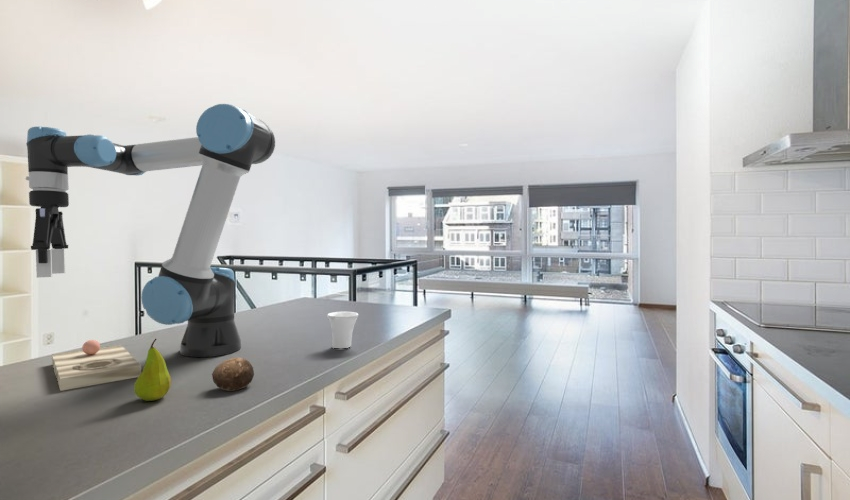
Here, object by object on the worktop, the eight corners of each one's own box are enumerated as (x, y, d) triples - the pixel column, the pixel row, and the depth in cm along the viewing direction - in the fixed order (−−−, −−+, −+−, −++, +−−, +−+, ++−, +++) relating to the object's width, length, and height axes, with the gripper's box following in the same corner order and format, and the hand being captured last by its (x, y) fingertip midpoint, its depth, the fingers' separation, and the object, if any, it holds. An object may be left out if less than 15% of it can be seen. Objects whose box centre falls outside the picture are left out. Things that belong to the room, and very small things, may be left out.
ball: (103, 352, 108) (103, 338, 108) (92, 356, 105) (92, 342, 104) (90, 352, 108) (90, 338, 108) (78, 356, 105) (78, 341, 105)
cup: (320, 349, 124) (320, 314, 124) (338, 342, 133) (338, 309, 132) (346, 352, 121) (347, 316, 120) (363, 345, 129) (364, 311, 129)
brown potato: (223, 364, 97) (227, 346, 94) (257, 377, 98) (262, 359, 95) (202, 392, 91) (206, 373, 87) (239, 406, 91) (244, 387, 88)
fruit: (146, 393, 88) (146, 334, 88) (178, 393, 88) (178, 334, 88) (126, 405, 82) (126, 341, 81) (160, 405, 82) (160, 342, 82)
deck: (52, 364, 106) (52, 354, 106) (121, 354, 116) (121, 345, 116) (60, 390, 89) (60, 378, 89) (141, 376, 98) (141, 365, 98)
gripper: (43, 194, 119) (46, 272, 119) (12, 184, 97) (15, 279, 98) (78, 195, 122) (80, 271, 123) (55, 186, 101) (58, 278, 101)
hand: (51, 275), depth 110 cm, fingers open, 13 cm apart
